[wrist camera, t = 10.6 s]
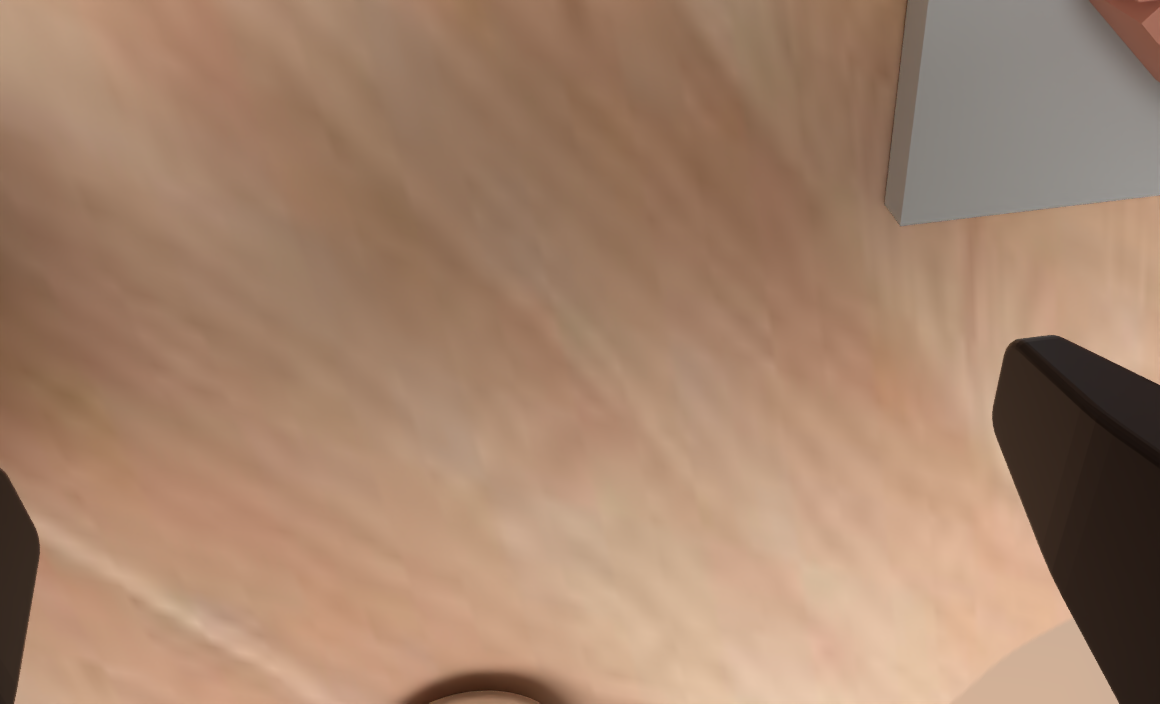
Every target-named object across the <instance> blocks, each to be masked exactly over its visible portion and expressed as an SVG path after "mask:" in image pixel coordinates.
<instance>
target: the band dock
mask: <svg viewBox="0 0 1160 704" xmlns="http://www.w3.org/2000/svg"><path fill="white" fill-rule="evenodd" d="M1158 195H1160V0H908V3H907V11H906V20H905V29H904V38H903V46H902V55H901V64H900V73H899V81H898V90H897V99H896V108H895V116H894V125H893V134H892V143H891V151H890V160H889V169H888V177H887V186H886V195H885V206H886V207H887V209H888V210H889V211H890V213H891V214H892V216H893V217H894V218H895V220H896V221H897V223H898V224H899V225H900V226H906V225H914V224H923V223H931V222H939V221H948V220H956V219H965V218H973V217H981V216H990V215H998V214H1007V213H1015V212H1024V211H1032V210H1040V209H1049V208H1057V207H1066V206H1074V205H1082V204H1091V203H1099V202H1108V201H1116V200H1125V199H1133V198H1141V197H1150V196H1158Z"/></svg>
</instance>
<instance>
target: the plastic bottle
mask: <svg viewBox="0 0 1160 704" xmlns="http://www.w3.org/2000/svg"><path fill="white" fill-rule="evenodd" d="M429 704H540V703H539V702H537V701H535V700H533V699H530V698H528V697H526V696H523V695H519V694H515V693H510V692H503V691H492V690H490V691H471V692H465V693H459V694H454V695H451V696H447V697H444V698H440V699H438V700H436V701H433V702H431V703H429Z"/></svg>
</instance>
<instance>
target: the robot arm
mask: <svg viewBox="0 0 1160 704" xmlns="http://www.w3.org/2000/svg"><path fill="white" fill-rule="evenodd" d="M992 420H993V427H994V432H995V435H996V438H997V441H998V443H999V446H1000V448H1001V451H1002V453H1003V456H1004V458H1005V461H1006V463H1007V466H1008V469H1009V471H1010V474H1011V476H1012V479H1013V481H1014V484H1015V486H1016V489H1017V491H1018V494H1019V497H1020V499H1021V502H1022V504H1023V507H1024V509H1025V512H1026V514H1027V517H1028V519H1029V522H1030V524H1031V527H1032V530H1033V532H1034V535H1035V537H1036V540H1037V542H1038V545H1039V547H1040V550H1041V552H1042V555H1043V557H1044V559H1045V562H1046V564H1047V566H1048V569H1049V571H1050V573H1051V575H1052V577H1053V579H1054V581H1055V583H1056V585H1057V587H1058V589H1059V591H1060V593H1061V595H1062V597H1063V599H1064V601H1065V603H1066V605H1067V607H1068V609H1069V610H1070V612H1071V614H1072V616H1073V618H1074V620H1075V622H1076V624H1077V625H1078V627H1079V629H1080V631H1081V632H1082V635H1083V636H1084V638H1085V640H1086V642H1087V644H1088V646H1089V648H1090V650H1091V652H1092V653H1093V655H1094V657H1095V659H1096V661H1097V663H1098V665H1099V666H1100V668H1101V670H1102V672H1103V674H1104V676H1105V678H1106V679H1107V681H1108V683H1109V685H1110V687H1111V689H1112V691H1113V693H1114V694H1115V696H1116V698H1117V700H1118V702H1119V704H1160V385H1158V384H1156V383H1154V382H1152V381H1150V380H1148V379H1146V378H1144V377H1142V376H1140V375H1138V374H1136V373H1134V372H1132V371H1130V370H1128V369H1126V368H1124V367H1122V366H1120V365H1118V364H1115V363H1113V362H1111V361H1109V360H1107V359H1105V358H1103V357H1101V356H1099V355H1097V354H1095V353H1093V352H1091V351H1089V350H1087V349H1085V348H1083V347H1081V346H1079V345H1077V344H1075V343H1073V342H1070V341H1068V340H1066V339H1064V338H1062V337H1060V336H1055V335H1047V336H1039V337H1031V338H1023V339H1017V340H1015V341H1013V342H1011V343H1010V344H1009V346H1008V347H1007V349H1006V351H1005V354H1004V358H1003V362H1002V367H1001V372H1000V377H999V381H998V386H997V391H996V395H995V400H994V405H993V411H992ZM39 555H40V544H39V537H38V534H37V531H36V528H35V526H34V524H33V522H32V520H31V518H30V516H29V515H28V513H27V511H26V509H25V507H24V505H23V503H22V502H21V500H20V498H19V496H18V494H17V492H16V490H15V488H14V487H13V485H12V483H11V481H10V479H9V477H8V476H7V474H6V473H5V472H4V471H3V470H2V469H1V468H0V704H14V701H15V697H16V692H17V687H18V681H19V675H20V669H21V663H22V657H23V651H24V645H25V639H26V634H27V628H28V622H29V616H30V610H31V604H32V598H33V592H34V586H35V580H36V574H37V568H38V563H39Z"/></svg>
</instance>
